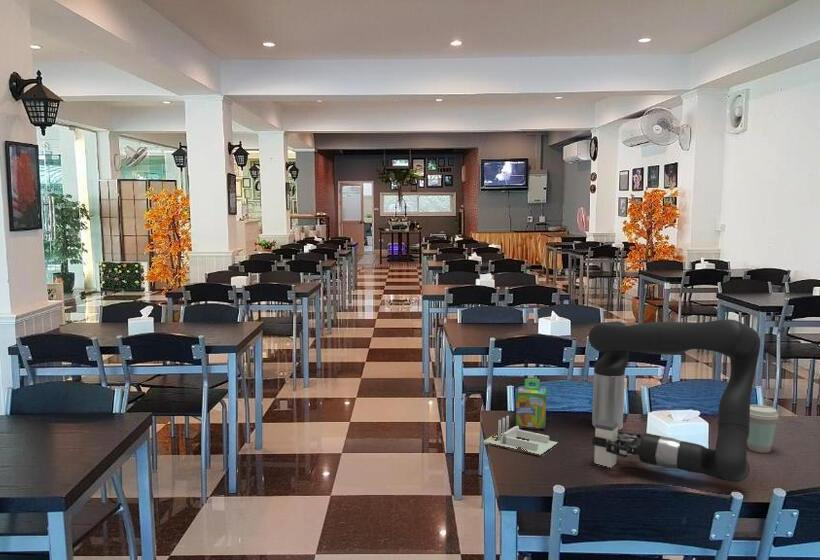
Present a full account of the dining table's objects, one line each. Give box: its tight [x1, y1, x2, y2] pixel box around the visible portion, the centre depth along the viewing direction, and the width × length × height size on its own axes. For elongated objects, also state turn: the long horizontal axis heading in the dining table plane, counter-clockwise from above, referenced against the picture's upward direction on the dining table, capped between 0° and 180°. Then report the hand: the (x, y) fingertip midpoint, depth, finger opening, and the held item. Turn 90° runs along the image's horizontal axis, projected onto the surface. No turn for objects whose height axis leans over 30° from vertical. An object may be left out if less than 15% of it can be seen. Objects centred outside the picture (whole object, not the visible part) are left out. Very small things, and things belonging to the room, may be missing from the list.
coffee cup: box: [747, 404, 779, 454], centre depth 190 cm, size 9×9×12 cm
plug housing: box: [593, 420, 619, 469], centre depth 179 cm, size 4×4×11 cm
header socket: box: [482, 415, 559, 455], centre depth 193 cm, size 12×18×7 cm, turn 55°
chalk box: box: [515, 378, 548, 429], centre depth 210 cm, size 9×9×15 cm
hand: (596, 437), depth 180 cm, fingers closed on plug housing, 4 cm apart
